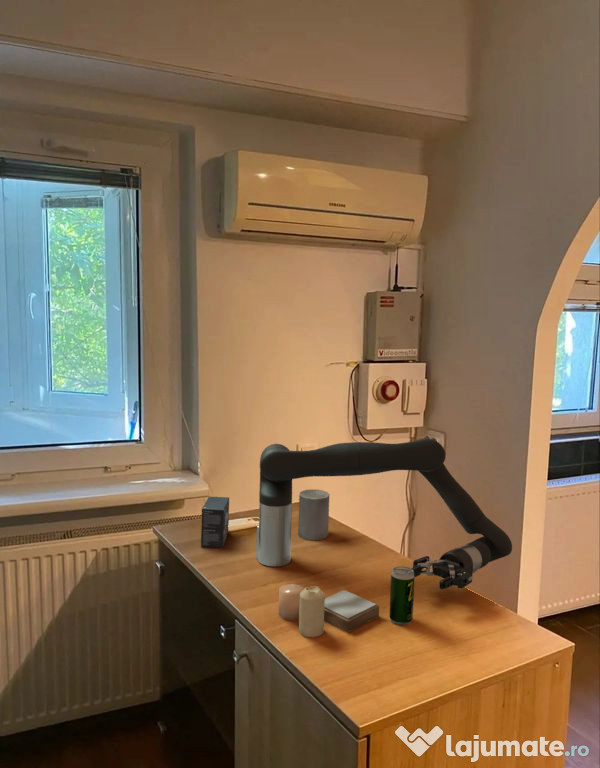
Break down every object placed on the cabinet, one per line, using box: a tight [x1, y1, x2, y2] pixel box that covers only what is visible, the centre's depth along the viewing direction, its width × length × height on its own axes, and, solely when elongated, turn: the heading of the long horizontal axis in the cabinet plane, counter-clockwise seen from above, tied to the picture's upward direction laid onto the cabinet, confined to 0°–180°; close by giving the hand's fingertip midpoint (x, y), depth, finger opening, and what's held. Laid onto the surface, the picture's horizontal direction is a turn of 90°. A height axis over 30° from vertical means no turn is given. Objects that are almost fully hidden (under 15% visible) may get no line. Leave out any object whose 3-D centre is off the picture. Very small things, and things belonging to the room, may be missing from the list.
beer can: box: [388, 565, 416, 626], centre depth 141 cm, size 5×5×12 cm
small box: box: [200, 496, 230, 548], centre depth 189 cm, size 13×7×12 cm, turn 179°
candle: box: [298, 585, 326, 638], centre depth 135 cm, size 6×6×10 cm
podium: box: [324, 589, 380, 633], centre depth 143 cm, size 11×11×3 cm
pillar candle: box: [297, 488, 331, 541], centre depth 195 cm, size 10×10×15 cm
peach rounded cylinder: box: [278, 583, 305, 621], centre depth 143 cm, size 6×6×6 cm
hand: (425, 579), depth 148 cm, fingers open, 8 cm apart
